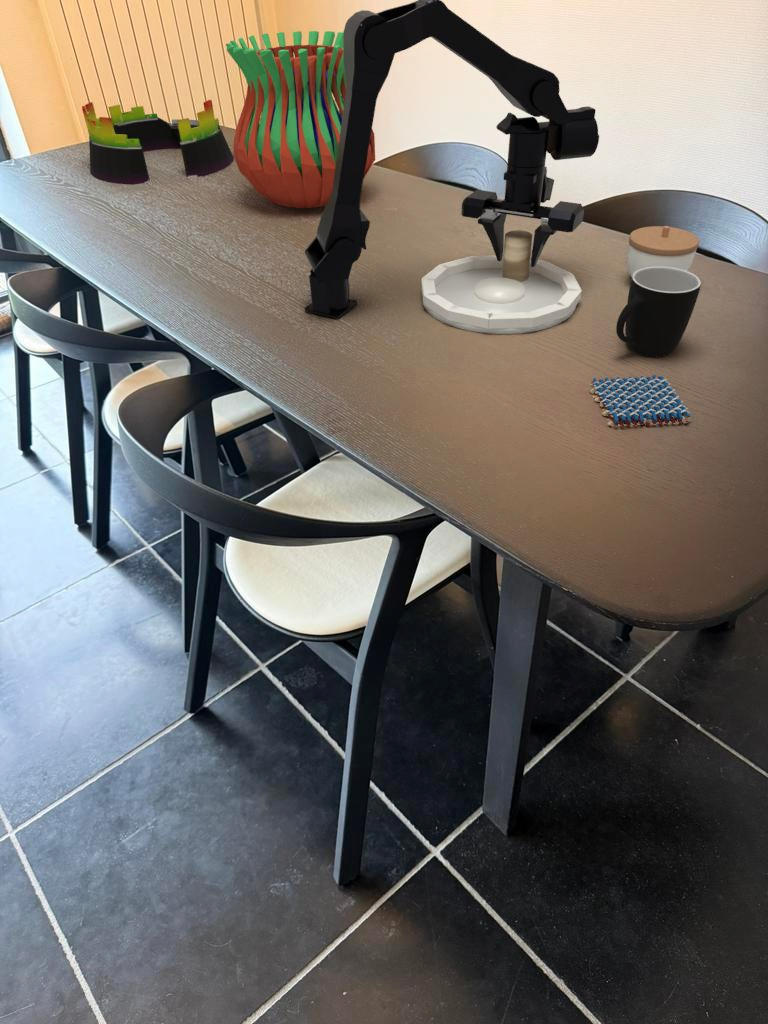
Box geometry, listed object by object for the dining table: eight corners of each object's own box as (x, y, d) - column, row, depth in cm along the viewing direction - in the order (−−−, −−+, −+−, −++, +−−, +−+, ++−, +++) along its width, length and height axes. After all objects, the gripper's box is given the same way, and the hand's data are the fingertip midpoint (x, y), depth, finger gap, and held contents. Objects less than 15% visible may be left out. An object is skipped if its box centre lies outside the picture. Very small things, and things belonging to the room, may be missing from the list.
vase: (400, 188, 163) (398, 31, 144) (332, 230, 143) (320, 54, 123) (290, 174, 174) (275, 27, 155) (214, 210, 154) (185, 47, 135)
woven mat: (661, 385, 95) (665, 371, 94) (692, 428, 87) (696, 414, 86) (584, 389, 95) (587, 375, 94) (608, 433, 87) (611, 419, 86)
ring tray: (546, 347, 103) (548, 331, 101) (395, 314, 113) (395, 299, 111) (596, 284, 119) (598, 269, 118) (460, 260, 129) (461, 246, 127)
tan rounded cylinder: (523, 283, 118) (526, 241, 113) (498, 279, 120) (500, 237, 115) (532, 274, 121) (536, 232, 116) (507, 270, 122) (510, 229, 118)
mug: (649, 327, 107) (664, 261, 100) (696, 351, 101) (716, 282, 94) (589, 348, 103) (601, 280, 96) (635, 374, 97) (651, 303, 90)
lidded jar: (642, 300, 114) (655, 242, 108) (608, 276, 122) (619, 220, 116) (700, 292, 116) (716, 234, 110) (664, 268, 124) (677, 212, 118)
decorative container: (263, 156, 189) (254, 91, 179) (162, 194, 165) (146, 122, 156) (164, 141, 204) (152, 81, 194) (59, 173, 181) (39, 107, 171)
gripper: (601, 156, 110) (585, 256, 120) (490, 144, 117) (483, 239, 127) (579, 175, 103) (564, 279, 113) (462, 161, 110) (457, 260, 120)
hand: (516, 263), depth 118 cm, fingers open, 6 cm apart
